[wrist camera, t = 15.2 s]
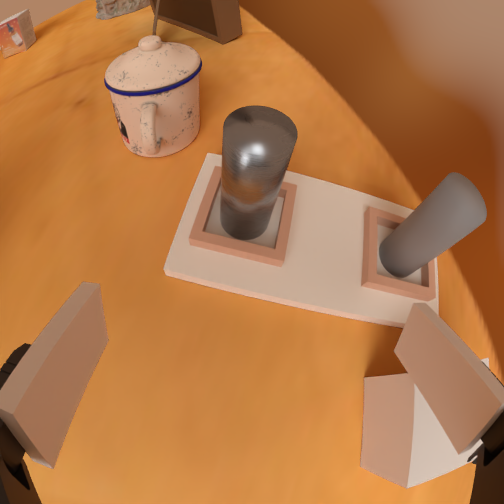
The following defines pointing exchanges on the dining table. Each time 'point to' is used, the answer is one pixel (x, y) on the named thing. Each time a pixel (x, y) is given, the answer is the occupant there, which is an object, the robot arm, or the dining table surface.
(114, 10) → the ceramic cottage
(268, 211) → the peg
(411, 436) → the block
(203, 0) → the photo frame
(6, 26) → the small box
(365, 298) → the pegboard
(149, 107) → the teacup with lid
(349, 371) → the dining table surface
